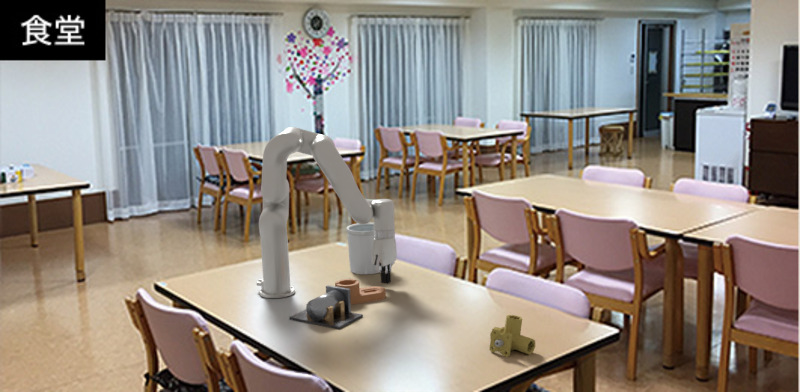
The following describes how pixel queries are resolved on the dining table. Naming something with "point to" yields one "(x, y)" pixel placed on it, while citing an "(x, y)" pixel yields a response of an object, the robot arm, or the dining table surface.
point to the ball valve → (511, 338)
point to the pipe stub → (329, 309)
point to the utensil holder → (361, 248)
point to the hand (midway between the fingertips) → (386, 282)
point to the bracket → (361, 291)
